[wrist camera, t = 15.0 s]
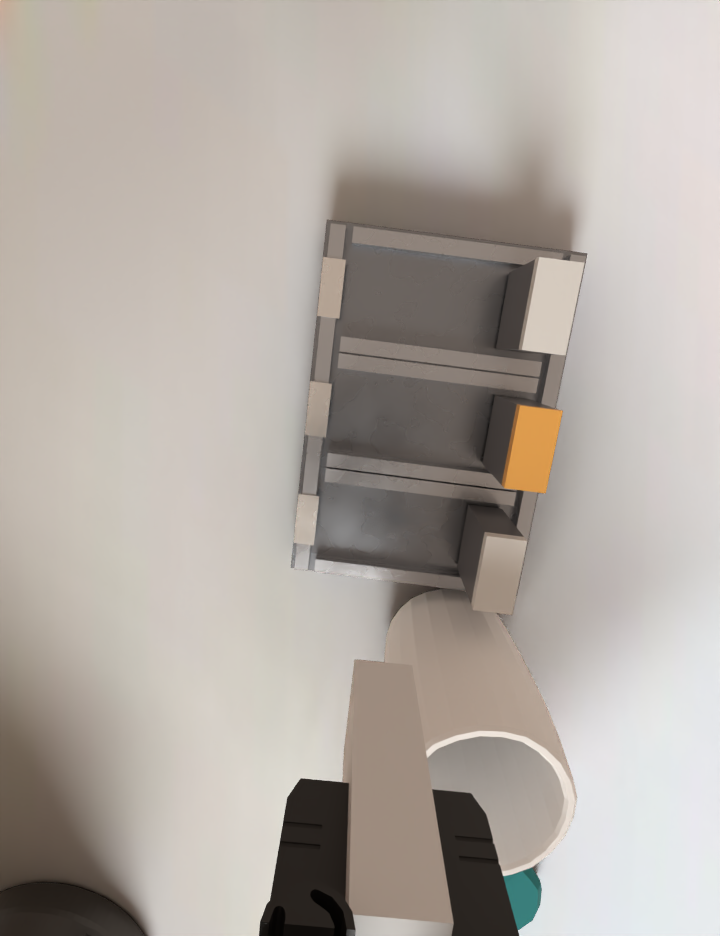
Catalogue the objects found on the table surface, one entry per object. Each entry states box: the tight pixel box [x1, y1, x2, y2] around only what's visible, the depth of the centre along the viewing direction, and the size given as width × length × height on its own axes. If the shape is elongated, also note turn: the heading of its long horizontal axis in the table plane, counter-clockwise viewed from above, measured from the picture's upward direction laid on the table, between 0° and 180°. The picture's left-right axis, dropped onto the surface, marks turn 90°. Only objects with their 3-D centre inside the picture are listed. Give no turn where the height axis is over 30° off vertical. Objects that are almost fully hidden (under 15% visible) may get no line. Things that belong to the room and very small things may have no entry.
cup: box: [384, 589, 577, 876], centre depth 30 cm, size 8×8×14 cm
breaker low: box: [457, 505, 527, 615], centre depth 30 cm, size 2×4×5 cm, turn 173°
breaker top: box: [496, 257, 584, 355], centre depth 27 cm, size 2×4×5 cm, turn 173°
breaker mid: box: [482, 395, 563, 493], centre depth 28 cm, size 2×4×5 cm, turn 173°
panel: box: [291, 220, 587, 596], centre depth 32 cm, size 14×20×3 cm
